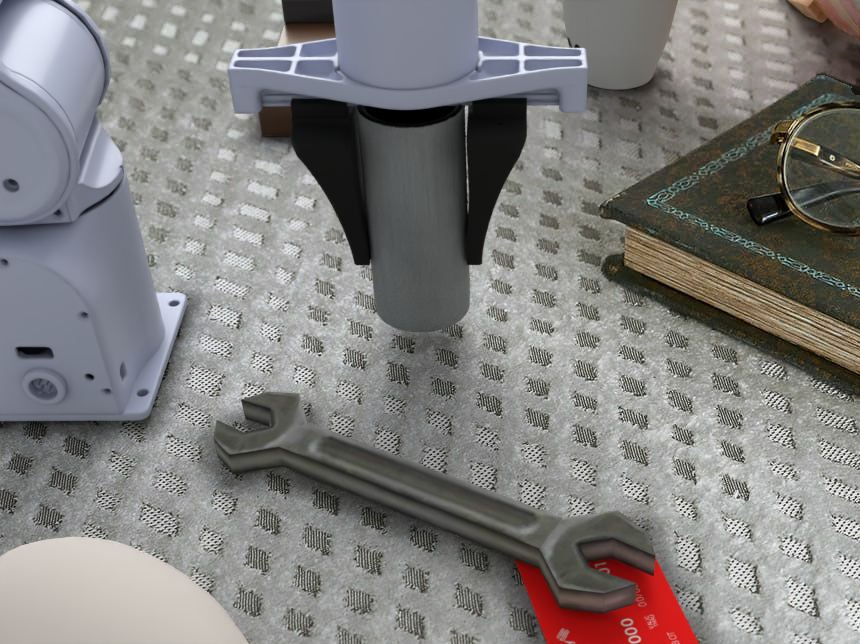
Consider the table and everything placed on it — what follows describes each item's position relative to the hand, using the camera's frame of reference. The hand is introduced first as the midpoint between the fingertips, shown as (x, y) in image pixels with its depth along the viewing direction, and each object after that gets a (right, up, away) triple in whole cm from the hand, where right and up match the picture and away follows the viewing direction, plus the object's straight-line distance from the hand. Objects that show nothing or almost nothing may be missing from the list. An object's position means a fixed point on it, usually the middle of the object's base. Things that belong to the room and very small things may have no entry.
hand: (420, 253), depth 55 cm
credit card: (+8, -16, -10) cm, 20 cm away
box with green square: (-6, +15, +22) cm, 27 cm away
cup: (+11, +17, +24) cm, 31 cm away
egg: (-14, -14, -14) cm, 24 cm away
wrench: (+9, -14, -10) cm, 20 cm away
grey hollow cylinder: (0, -2, +2) cm, 3 cm away
